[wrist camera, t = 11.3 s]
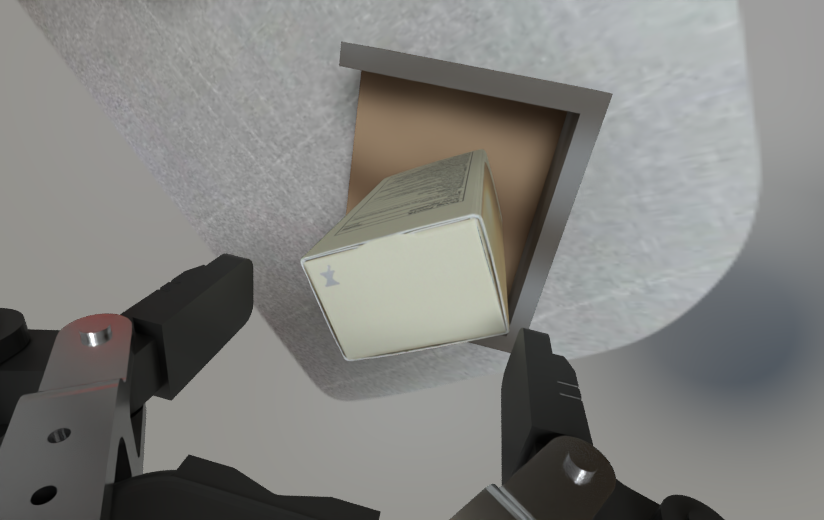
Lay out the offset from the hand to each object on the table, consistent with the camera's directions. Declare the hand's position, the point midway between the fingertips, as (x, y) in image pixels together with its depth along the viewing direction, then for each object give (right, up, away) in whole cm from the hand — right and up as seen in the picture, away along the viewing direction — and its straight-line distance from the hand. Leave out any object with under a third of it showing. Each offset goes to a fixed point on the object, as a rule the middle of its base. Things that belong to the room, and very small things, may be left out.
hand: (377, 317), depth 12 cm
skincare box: (+3, +5, +12) cm, 14 cm away
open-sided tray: (+4, +6, +14) cm, 16 cm away
